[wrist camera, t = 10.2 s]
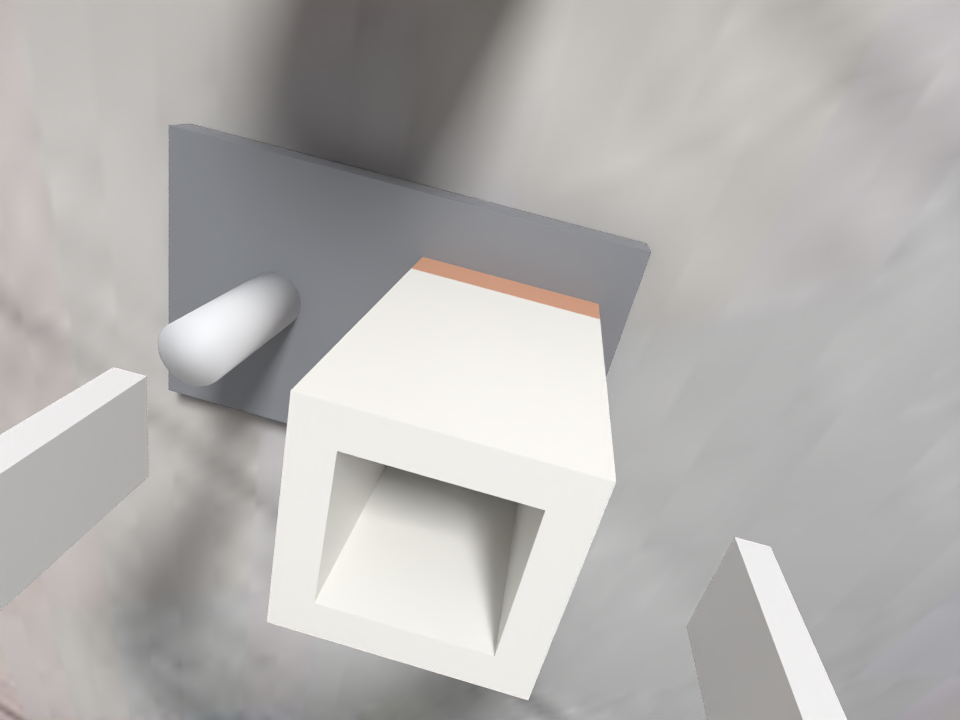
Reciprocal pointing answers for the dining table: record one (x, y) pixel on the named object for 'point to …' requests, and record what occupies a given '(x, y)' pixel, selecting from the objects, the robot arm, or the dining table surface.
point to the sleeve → (446, 477)
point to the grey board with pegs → (336, 261)
